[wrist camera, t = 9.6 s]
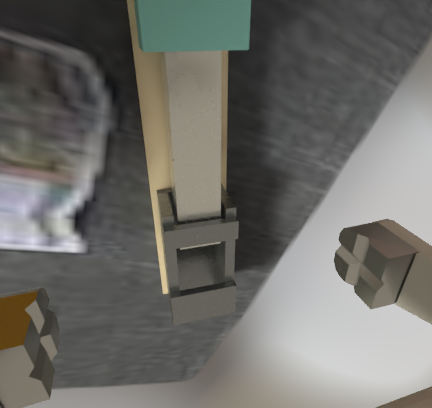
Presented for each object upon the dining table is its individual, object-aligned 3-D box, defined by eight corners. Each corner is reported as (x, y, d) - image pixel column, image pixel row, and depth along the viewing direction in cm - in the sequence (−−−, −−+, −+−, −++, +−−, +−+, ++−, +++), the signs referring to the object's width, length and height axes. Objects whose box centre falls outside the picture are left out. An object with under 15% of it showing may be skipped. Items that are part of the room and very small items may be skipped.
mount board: (162, 289, 39) (163, 294, 38) (120, -55, 22) (119, -58, 21) (223, 278, 41) (224, 282, 40) (226, -50, 24) (229, -52, 23)
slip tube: (173, 226, 33) (179, 250, 29) (154, 2, 23) (159, -3, 19) (211, 221, 34) (221, 243, 30) (208, 3, 24) (222, -2, 20)
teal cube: (138, 46, 25) (143, 52, 19) (128, -46, 22) (129, -75, 16) (220, 44, 27) (248, 50, 21) (220, -42, 24) (254, -66, 18)
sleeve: (167, 290, 38) (174, 331, 33) (156, 190, 31) (162, 222, 26) (220, 280, 40) (235, 318, 34) (220, 182, 33) (239, 211, 28)
